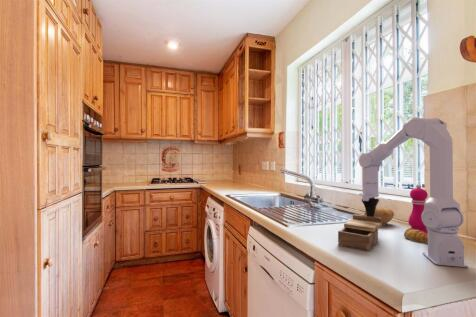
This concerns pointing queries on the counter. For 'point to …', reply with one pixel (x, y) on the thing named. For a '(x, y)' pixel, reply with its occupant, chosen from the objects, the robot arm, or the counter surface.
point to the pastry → (416, 235)
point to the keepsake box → (357, 239)
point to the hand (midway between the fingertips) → (370, 216)
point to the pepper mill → (417, 208)
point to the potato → (383, 214)
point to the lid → (364, 223)
